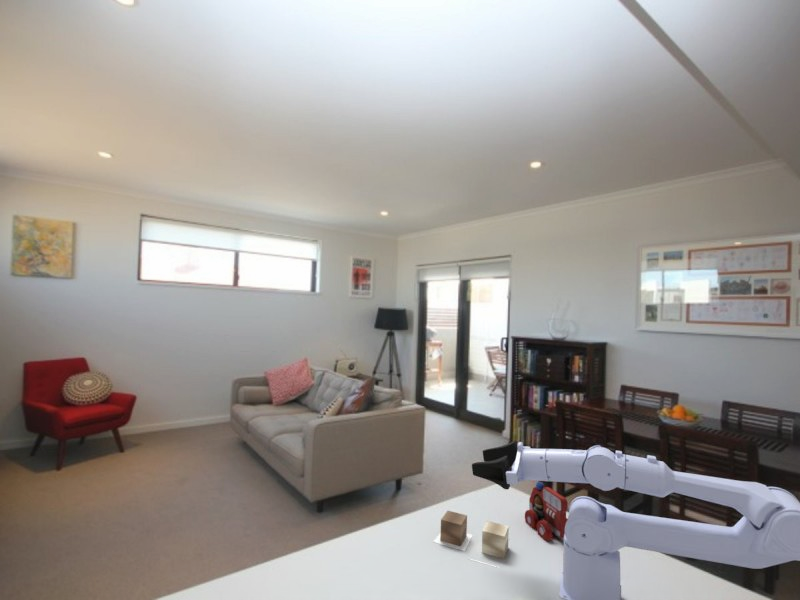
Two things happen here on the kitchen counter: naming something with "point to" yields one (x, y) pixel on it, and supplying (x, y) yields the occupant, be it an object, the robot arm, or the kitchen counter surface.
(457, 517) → the walnut block
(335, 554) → the kitchen counter surface
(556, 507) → the toy fire truck
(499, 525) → the maple block
